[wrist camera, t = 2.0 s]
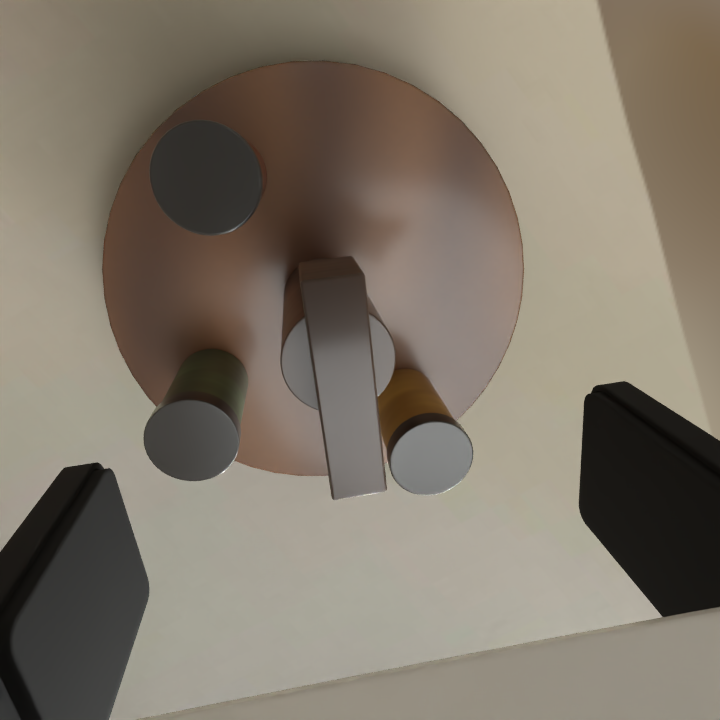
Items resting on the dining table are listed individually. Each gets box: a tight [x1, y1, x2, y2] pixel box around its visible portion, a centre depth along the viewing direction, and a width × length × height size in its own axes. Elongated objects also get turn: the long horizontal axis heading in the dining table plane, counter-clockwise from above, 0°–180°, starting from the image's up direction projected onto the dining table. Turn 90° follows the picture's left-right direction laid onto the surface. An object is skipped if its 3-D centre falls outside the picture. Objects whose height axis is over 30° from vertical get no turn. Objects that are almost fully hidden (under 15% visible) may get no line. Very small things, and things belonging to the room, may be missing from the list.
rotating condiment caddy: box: [102, 61, 524, 500], centre depth 19 cm, size 19×19×12 cm
